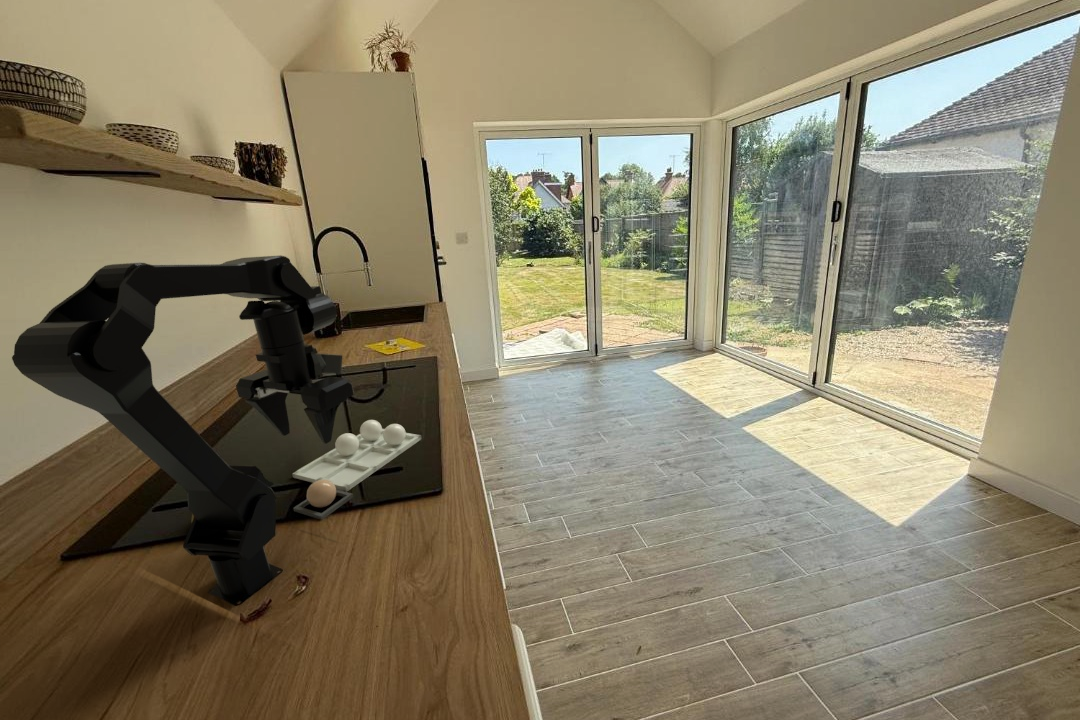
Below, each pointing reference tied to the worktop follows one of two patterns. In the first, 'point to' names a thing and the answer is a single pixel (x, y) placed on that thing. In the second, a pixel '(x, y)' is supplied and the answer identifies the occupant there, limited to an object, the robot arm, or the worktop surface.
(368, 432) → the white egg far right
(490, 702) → the worktop surface
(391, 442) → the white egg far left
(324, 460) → the egg tray
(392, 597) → the worktop surface
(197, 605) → the worktop surface
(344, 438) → the white egg mid
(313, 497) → the brown egg
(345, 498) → the gray rectangular frame
